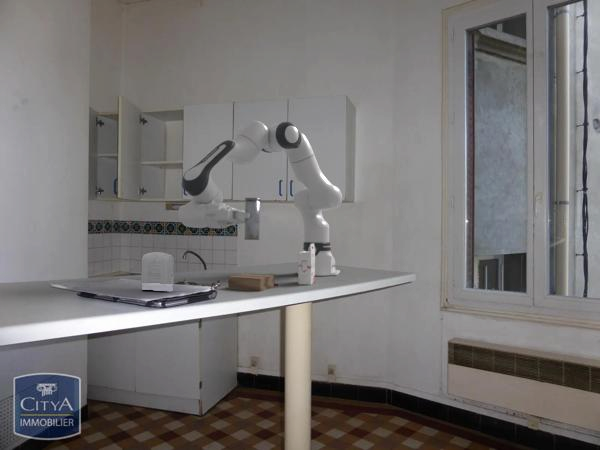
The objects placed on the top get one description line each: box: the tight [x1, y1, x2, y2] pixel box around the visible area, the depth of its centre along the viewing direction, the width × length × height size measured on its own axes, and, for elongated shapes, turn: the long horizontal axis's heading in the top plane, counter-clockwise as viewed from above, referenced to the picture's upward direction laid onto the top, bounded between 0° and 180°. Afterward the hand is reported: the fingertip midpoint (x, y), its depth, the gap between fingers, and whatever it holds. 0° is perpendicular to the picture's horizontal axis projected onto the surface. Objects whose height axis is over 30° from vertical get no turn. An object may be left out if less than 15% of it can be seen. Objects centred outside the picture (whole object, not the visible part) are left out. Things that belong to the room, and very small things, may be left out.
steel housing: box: [244, 197, 261, 241], centre depth 146 cm, size 5×5×14 cm
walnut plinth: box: [227, 273, 275, 292], centre depth 145 cm, size 10×12×4 cm
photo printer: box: [140, 251, 175, 285], centre depth 136 cm, size 10×4×12 cm, turn 78°
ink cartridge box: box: [297, 244, 316, 286], centre depth 160 cm, size 9×5×15 cm, turn 168°
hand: (254, 215), depth 145 cm, fingers closed on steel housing, 5 cm apart
